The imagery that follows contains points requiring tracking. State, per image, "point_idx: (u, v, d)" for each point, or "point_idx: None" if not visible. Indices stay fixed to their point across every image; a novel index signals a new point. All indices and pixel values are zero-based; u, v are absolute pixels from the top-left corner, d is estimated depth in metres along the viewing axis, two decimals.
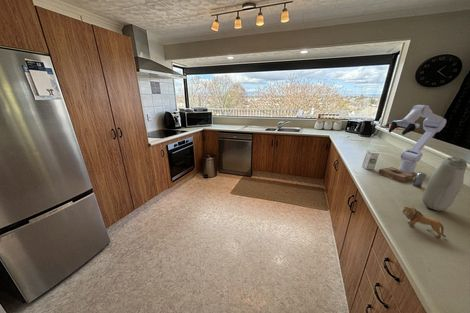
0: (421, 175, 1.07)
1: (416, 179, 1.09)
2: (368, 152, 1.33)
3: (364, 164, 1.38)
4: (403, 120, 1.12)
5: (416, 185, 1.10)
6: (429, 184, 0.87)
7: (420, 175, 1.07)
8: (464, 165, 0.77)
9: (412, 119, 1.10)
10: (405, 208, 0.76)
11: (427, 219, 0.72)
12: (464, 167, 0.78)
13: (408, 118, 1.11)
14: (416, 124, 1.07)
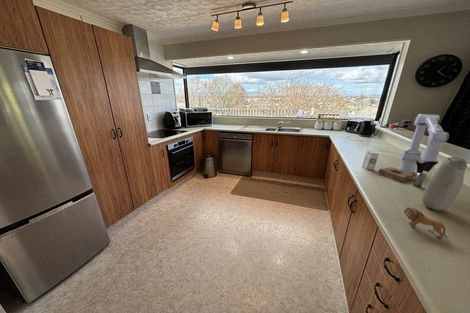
0: (421, 175, 1.07)
1: (416, 179, 1.09)
2: (368, 152, 1.33)
3: (364, 164, 1.38)
4: None
5: (416, 185, 1.10)
6: (429, 184, 0.87)
7: (420, 175, 1.07)
8: (464, 165, 0.77)
9: None
10: (406, 209, 0.75)
11: (429, 220, 0.71)
12: (464, 167, 0.78)
13: (436, 157, 1.02)
14: (436, 159, 1.06)
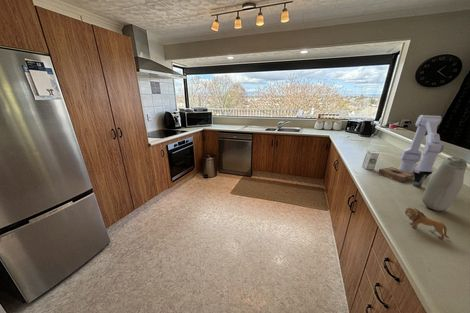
0: None
1: None
2: (368, 152, 1.33)
3: (364, 164, 1.38)
4: None
5: (416, 185, 1.10)
6: (429, 184, 0.87)
7: None
8: (464, 165, 0.77)
9: None
10: (408, 209, 0.75)
11: (430, 220, 0.71)
12: (464, 167, 0.78)
13: None
14: (431, 169, 1.08)
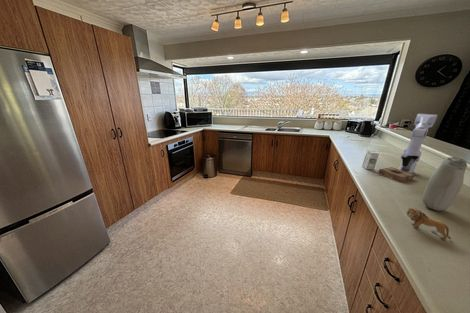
0: None
1: None
2: (368, 152, 1.33)
3: (364, 164, 1.38)
4: (416, 155, 1.11)
5: (404, 169, 1.17)
6: (429, 184, 0.87)
7: None
8: (464, 165, 0.77)
9: None
10: (409, 210, 0.75)
11: (432, 221, 0.71)
12: (464, 167, 0.78)
13: (418, 151, 1.11)
14: (418, 153, 1.15)
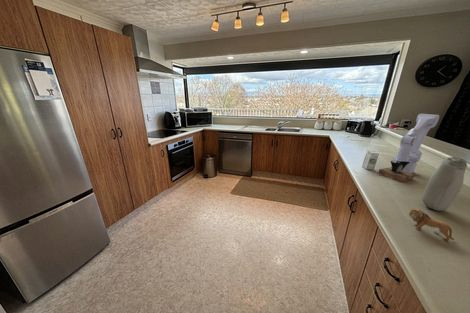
0: None
1: None
2: (368, 152, 1.33)
3: (364, 164, 1.38)
4: (405, 161, 1.17)
5: None
6: (429, 184, 0.87)
7: None
8: (464, 165, 0.77)
9: None
10: (412, 211, 0.74)
11: (435, 222, 0.70)
12: (464, 167, 0.78)
13: (407, 157, 1.17)
14: (408, 159, 1.21)
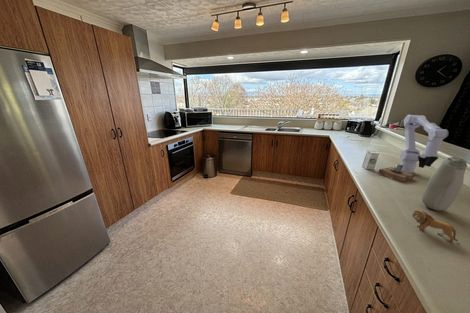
0: (398, 166, 1.20)
1: (394, 170, 1.23)
2: (368, 152, 1.33)
3: (364, 164, 1.38)
4: (435, 156, 1.10)
5: None
6: (429, 184, 0.87)
7: (397, 166, 1.21)
8: (464, 165, 0.77)
9: None
10: (415, 212, 0.73)
11: (438, 223, 0.70)
12: (464, 167, 0.78)
13: None
14: (436, 154, 1.14)
